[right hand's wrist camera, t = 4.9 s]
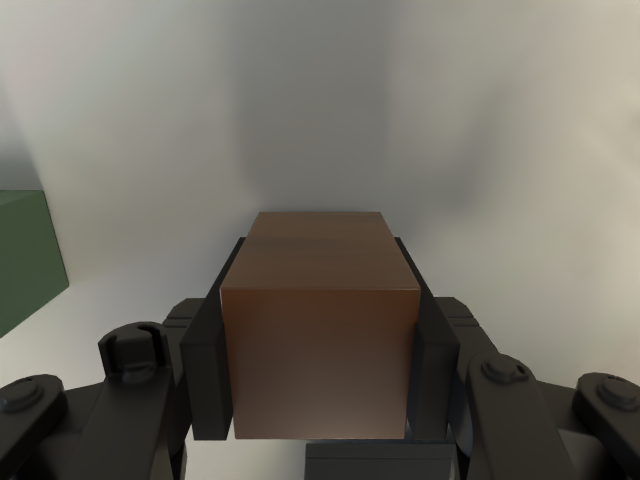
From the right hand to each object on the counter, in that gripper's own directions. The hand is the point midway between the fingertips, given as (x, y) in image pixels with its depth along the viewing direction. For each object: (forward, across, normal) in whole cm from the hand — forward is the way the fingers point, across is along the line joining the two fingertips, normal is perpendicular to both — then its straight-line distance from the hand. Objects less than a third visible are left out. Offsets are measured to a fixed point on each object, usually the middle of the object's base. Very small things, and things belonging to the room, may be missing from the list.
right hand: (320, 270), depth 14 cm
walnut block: (0, 0, 0) cm, 0 cm away
